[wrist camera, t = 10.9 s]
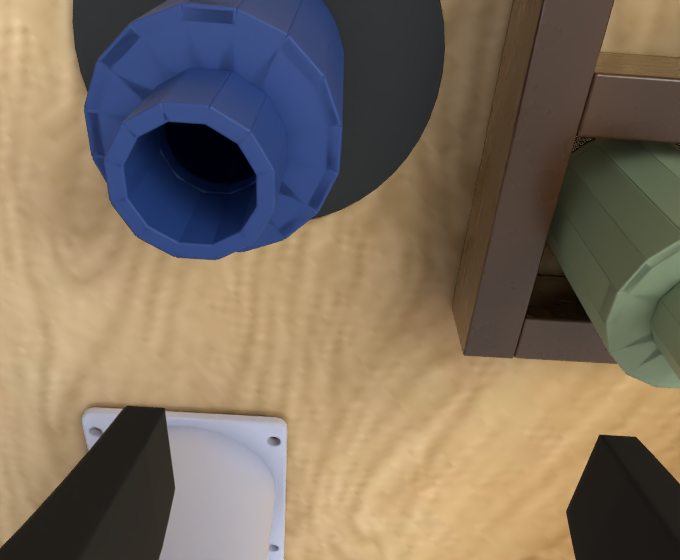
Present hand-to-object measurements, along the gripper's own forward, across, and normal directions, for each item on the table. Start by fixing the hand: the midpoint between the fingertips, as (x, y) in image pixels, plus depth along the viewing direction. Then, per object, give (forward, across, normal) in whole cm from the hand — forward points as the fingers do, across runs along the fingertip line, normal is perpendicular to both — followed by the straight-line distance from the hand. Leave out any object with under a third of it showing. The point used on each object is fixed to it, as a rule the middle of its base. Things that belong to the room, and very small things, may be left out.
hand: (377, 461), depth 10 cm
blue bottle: (+10, +3, -4) cm, 11 cm away
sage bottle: (+10, -8, 0) cm, 13 cm away
